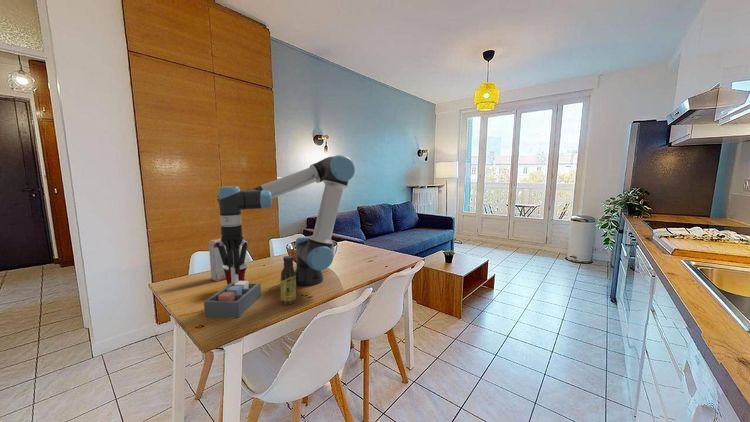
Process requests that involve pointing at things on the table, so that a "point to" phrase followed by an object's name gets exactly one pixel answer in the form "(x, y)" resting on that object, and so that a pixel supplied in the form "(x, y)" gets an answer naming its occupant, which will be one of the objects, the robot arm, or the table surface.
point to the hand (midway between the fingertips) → (235, 281)
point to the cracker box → (217, 261)
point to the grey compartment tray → (232, 302)
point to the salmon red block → (227, 296)
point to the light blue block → (235, 289)
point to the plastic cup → (240, 275)
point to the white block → (242, 284)
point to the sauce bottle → (288, 282)
